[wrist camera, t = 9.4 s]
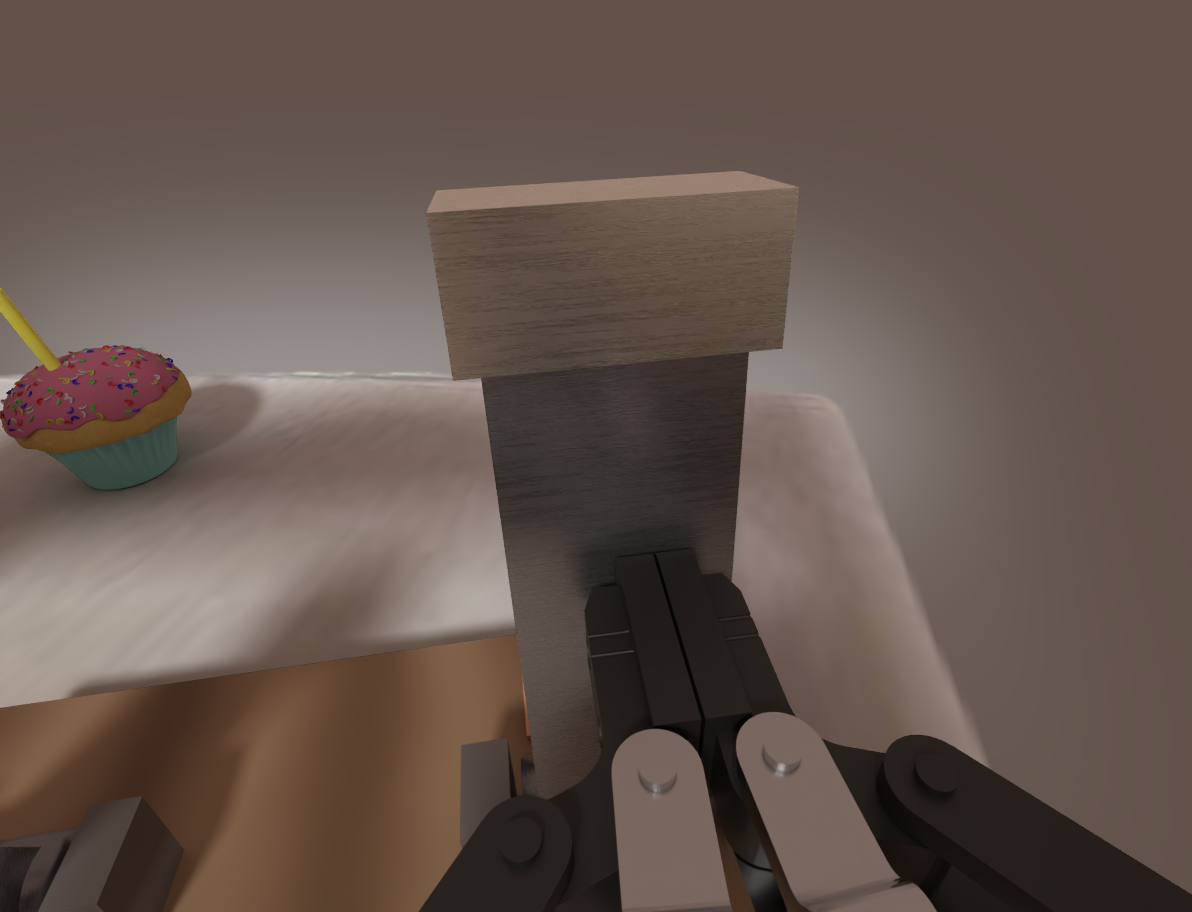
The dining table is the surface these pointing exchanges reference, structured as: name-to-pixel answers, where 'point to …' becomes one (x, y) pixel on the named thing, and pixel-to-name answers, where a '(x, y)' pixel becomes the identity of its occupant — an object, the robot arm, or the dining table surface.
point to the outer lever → (607, 393)
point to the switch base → (274, 783)
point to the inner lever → (30, 868)
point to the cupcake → (97, 409)
